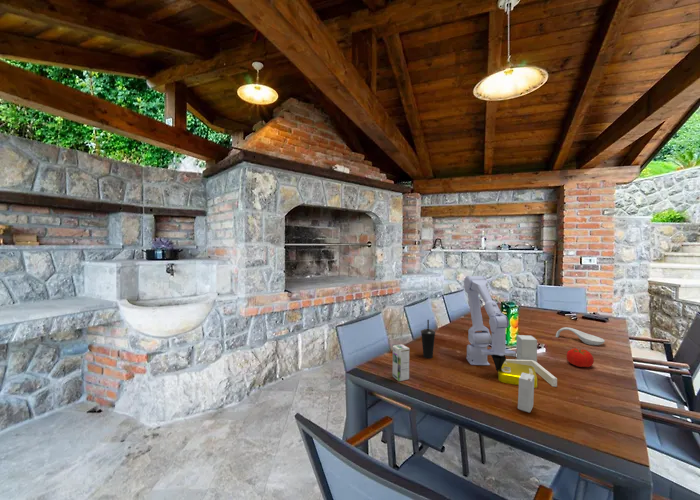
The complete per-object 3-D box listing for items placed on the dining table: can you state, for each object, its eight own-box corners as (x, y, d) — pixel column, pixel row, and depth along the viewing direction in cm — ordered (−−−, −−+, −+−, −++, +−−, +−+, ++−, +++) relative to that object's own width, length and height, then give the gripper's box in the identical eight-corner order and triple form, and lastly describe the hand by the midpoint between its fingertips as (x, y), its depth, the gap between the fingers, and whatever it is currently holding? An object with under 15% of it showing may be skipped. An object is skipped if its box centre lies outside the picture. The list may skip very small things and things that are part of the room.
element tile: (537, 389, 126) (538, 378, 126) (498, 382, 133) (498, 371, 132) (533, 375, 139) (534, 364, 139) (497, 369, 146) (498, 359, 146)
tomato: (589, 362, 152) (589, 348, 151) (596, 371, 142) (596, 355, 141) (563, 359, 156) (564, 345, 156) (568, 367, 146) (569, 352, 146)
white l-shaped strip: (518, 384, 129) (518, 377, 129) (500, 365, 149) (500, 359, 148) (556, 386, 128) (557, 378, 128) (534, 367, 147) (534, 360, 147)
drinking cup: (435, 354, 163) (435, 318, 162) (435, 360, 156) (435, 322, 155) (421, 353, 166) (421, 317, 165) (420, 358, 158) (420, 321, 158)
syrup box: (391, 376, 138) (391, 345, 138) (402, 374, 141) (402, 343, 140) (398, 382, 133) (398, 349, 132) (409, 379, 135) (409, 347, 135)
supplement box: (537, 365, 149) (537, 340, 149) (521, 364, 151) (521, 339, 150) (531, 359, 156) (531, 335, 156) (515, 358, 158) (516, 334, 157)
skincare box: (520, 402, 116) (521, 371, 115) (534, 406, 113) (534, 374, 112) (517, 409, 111) (517, 377, 111) (531, 413, 108) (531, 380, 108)
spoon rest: (605, 344, 178) (606, 332, 178) (603, 349, 170) (603, 336, 170) (558, 334, 195) (558, 324, 195) (553, 339, 187) (554, 327, 187)
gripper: (484, 344, 134) (484, 374, 135) (519, 345, 132) (518, 375, 133) (479, 338, 141) (479, 367, 142) (512, 339, 139) (511, 368, 140)
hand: (498, 370), depth 138 cm, fingers closed
